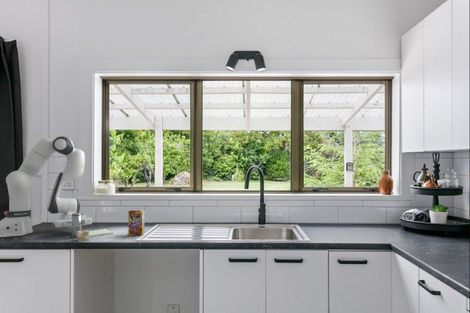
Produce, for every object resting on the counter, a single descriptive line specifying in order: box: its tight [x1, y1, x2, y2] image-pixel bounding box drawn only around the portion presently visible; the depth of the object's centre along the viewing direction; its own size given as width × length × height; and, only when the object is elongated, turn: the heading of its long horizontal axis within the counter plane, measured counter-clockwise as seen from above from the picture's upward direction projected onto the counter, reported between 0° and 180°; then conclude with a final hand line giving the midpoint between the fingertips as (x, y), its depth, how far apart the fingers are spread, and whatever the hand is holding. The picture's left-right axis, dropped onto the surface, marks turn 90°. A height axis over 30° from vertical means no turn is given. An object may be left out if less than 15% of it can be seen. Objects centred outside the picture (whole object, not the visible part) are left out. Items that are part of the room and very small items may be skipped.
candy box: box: [127, 209, 146, 237], centre depth 201 cm, size 9×4×15 cm, turn 84°
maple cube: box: [76, 229, 90, 242], centre depth 188 cm, size 5×5×5 cm
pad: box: [88, 228, 114, 238], centre depth 205 cm, size 14×14×1 cm
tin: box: [71, 212, 83, 239], centre depth 195 cm, size 5×5×14 cm
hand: (76, 224), depth 195 cm, fingers open, 8 cm apart
